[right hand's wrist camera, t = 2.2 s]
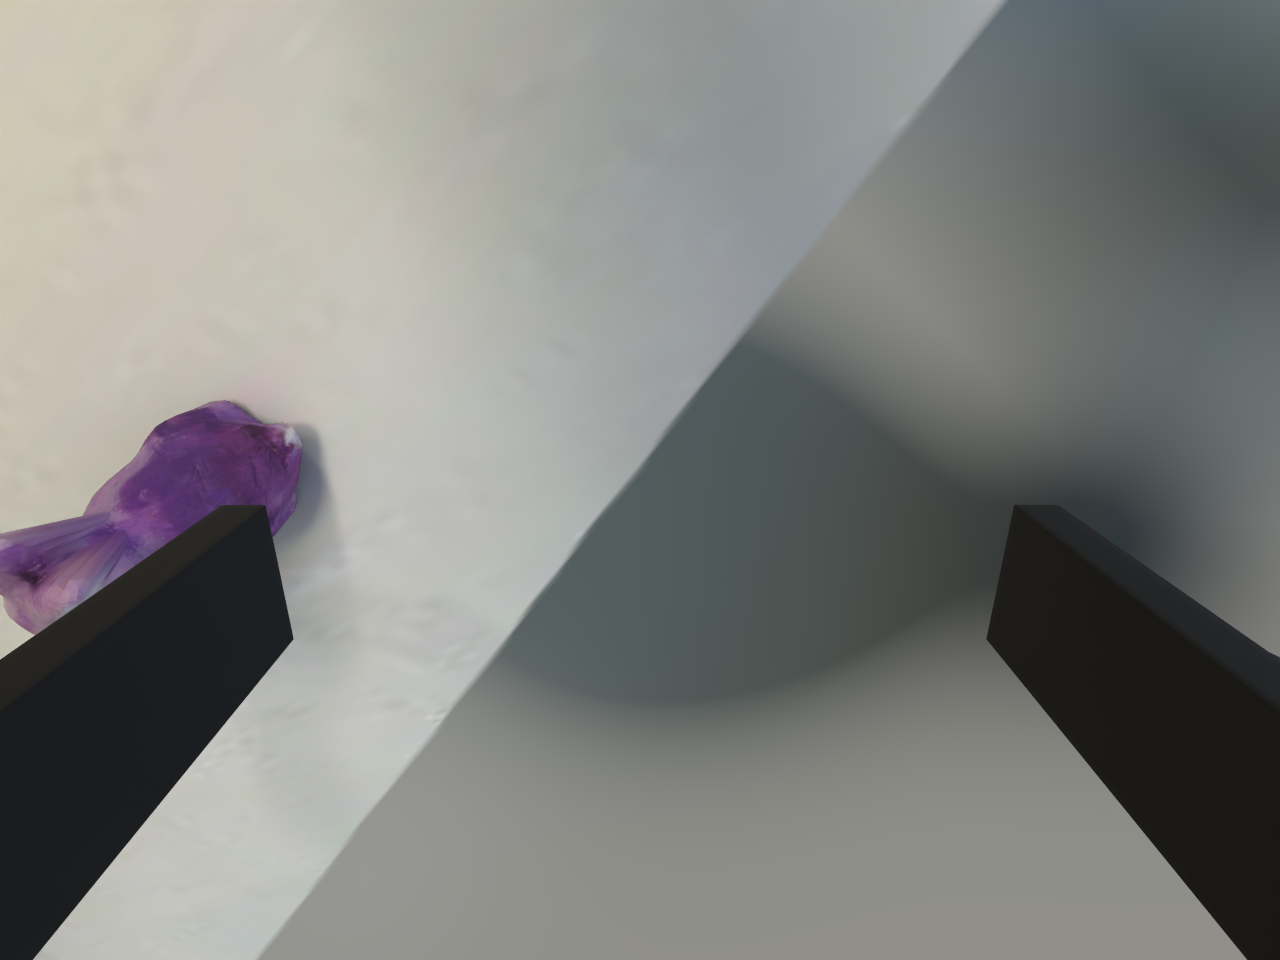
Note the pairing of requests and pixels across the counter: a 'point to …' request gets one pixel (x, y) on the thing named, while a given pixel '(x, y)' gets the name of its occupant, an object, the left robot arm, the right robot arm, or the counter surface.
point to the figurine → (150, 508)
